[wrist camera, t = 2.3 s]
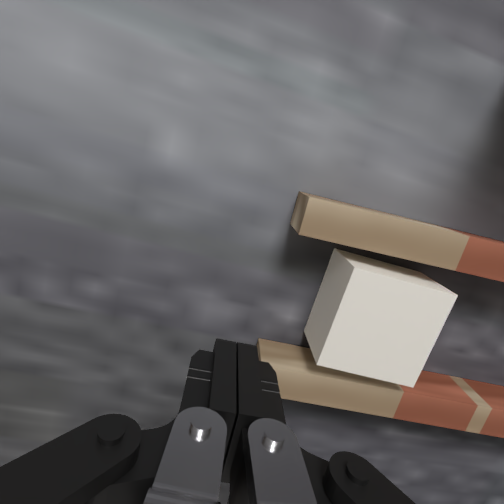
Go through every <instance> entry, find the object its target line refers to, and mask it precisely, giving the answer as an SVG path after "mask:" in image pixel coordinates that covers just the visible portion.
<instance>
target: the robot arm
mask: <svg viewBox="0 0 504 504" xmlns="http://www.w3.org/2000/svg"><path fill="white" fill-rule="evenodd" d="M221 482H225V483H230V495H229V498H228V502H227V504H415V503H414V502H413V501H412V500H411V499H410V498H409V497H407V496H406V495H405V494H404V493H403V492H402V491H401V490H400V489H398V488H397V487H396V486H395V485H394V484H393V483H392V482H391V481H389V480H388V479H387V478H386V477H385V476H384V475H383V474H382V473H380V472H379V471H378V470H377V469H376V468H375V467H374V466H373V465H371V464H370V463H369V462H368V461H367V460H365V459H364V458H362V457H360V456H358V455H356V454H354V453H351V452H345V451H343V452H337V453H335V454H334V455H333V456H332V457H331V458H330V461H329V462H328V461H326V460H324V459H322V458H319V457H317V456H315V455H313V454H311V453H309V452H307V451H305V450H304V449H302V448H301V447H300V446H299V442H298V439H297V437H296V435H295V434H294V432H293V431H292V430H291V429H290V428H289V427H288V426H287V425H286V422H285V416H284V411H283V406H282V401H281V395H280V390H279V385H278V380H277V374H276V372H275V370H274V369H273V367H272V366H271V365H270V363H269V362H263V361H259V358H258V349H257V346H254V345H249V344H244V343H238V342H237V344H236V342H233V341H228V340H222V339H216V341H215V345H214V349H213V352H209V351H204V350H198V351H197V352H196V353H195V354H194V355H193V356H192V357H191V362H190V366H189V371H188V375H187V380H186V384H185V389H184V393H183V398H182V402H181V406H180V410H179V413H178V415H177V416H176V418H175V419H174V420H173V421H171V422H170V423H169V424H167V425H165V426H163V427H159V428H155V429H148V430H141V429H140V427H139V425H138V423H137V422H136V421H135V420H133V419H132V418H130V417H128V416H125V415H121V414H107V415H103V416H99V417H97V418H95V419H92V420H91V421H89V422H87V423H85V424H83V425H81V426H79V427H77V428H75V429H73V430H71V431H69V432H67V433H65V434H63V435H61V436H59V437H58V438H56V439H54V440H52V441H50V442H48V443H46V444H44V445H42V446H40V447H38V448H36V449H34V450H32V451H30V452H28V453H27V454H25V455H23V456H21V457H19V458H17V459H15V460H13V461H11V462H9V463H7V464H5V465H3V466H1V467H0V504H221V503H220V502H218V500H219V491H220V483H221Z"/></svg>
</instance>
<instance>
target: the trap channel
mask: <svg viewBox="0 0 504 504" xmlns="http://www.w3.org/2000/svg"><path fill="white" fill-rule="evenodd" d="M290 224H291V225H292V227H293V228H294V229H295V230H296V232H297V233H298V234H299V235H303V236H307V237H311V238H316V239H320V240H324V241H329V242H333V243H337V244H342V245H346V246H350V247H355V248H359V249H363V250H368V251H372V252H376V253H380V254H385V255H389V256H393V257H398V258H402V259H406V260H411V261H415V262H419V263H424V264H428V265H432V266H437V267H441V268H445V269H449V270H454V271H458V272H462V273H467V274H471V275H475V276H480V277H484V278H488V279H493V280H497V281H501V282H504V242H503V241H499V240H495V239H491V238H487V237H483V236H479V235H474V234H470V233H466V232H462V231H458V230H454V229H450V228H446V227H442V226H438V225H434V224H430V223H426V222H421V221H417V220H413V219H409V218H405V217H401V216H397V215H393V214H389V213H385V212H381V211H377V210H373V209H369V208H364V207H360V206H356V205H352V204H348V203H344V202H340V201H336V200H332V199H328V198H324V197H320V196H316V195H312V194H307V193H303V192H299V193H298V197H297V201H296V204H295V208H294V212H293V215H292V219H291V222H290ZM257 349H258V358H259V361H263V362H269V363H270V365H271V366H272V367H273V369H274V370H275V372H276V374H277V380H278V385H279V390H280V395H281V398H283V399H288V400H294V401H299V402H305V403H311V404H316V405H322V406H327V407H333V408H339V409H344V410H350V411H355V412H361V413H366V414H372V415H378V416H383V417H389V418H394V419H400V420H406V421H411V422H417V423H422V424H428V425H434V426H439V427H445V428H450V429H456V430H461V431H467V432H473V433H478V434H484V435H489V436H495V437H501V438H504V386H499V385H494V384H489V383H484V382H479V381H474V380H469V379H464V378H459V377H454V376H449V375H444V374H438V373H433V372H428V371H423V370H422V371H421V373H420V375H419V377H418V379H417V381H416V383H415V385H414V387H408V386H404V385H400V384H396V383H391V382H387V381H383V380H379V379H374V378H370V377H366V376H362V375H357V374H353V373H349V372H345V371H340V370H336V369H332V368H328V367H323V366H319V365H316V362H315V359H314V357H313V354H312V351H311V349H310V348H306V347H301V346H296V345H291V344H286V343H281V342H276V341H270V340H265V339H260V338H258V342H257Z"/></svg>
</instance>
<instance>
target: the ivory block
mask: <svg viewBox="0 0 504 504" xmlns="http://www.w3.org/2000/svg"><path fill="white" fill-rule="evenodd" d="M457 297H458V295H456V294H455V293H453V292H452V291H450V290H448V289H447V288H445V287H444V286H442V285H440V284H439V283H437V282H436V281H434V280H432V279H431V278H429V277H428V276H426V275H424V274H423V273H421V272H419V271H415V270H411V269H408V268H404V267H401V266H397V265H393V264H390V263H386V262H383V261H379V260H375V259H372V258H368V257H365V256H361V255H357V254H354V253H350V252H347V251H343V250H339V249H336V248H334V250H333V253H332V256H331V258H330V261H329V264H328V267H327V269H326V272H325V275H324V277H323V280H322V283H321V286H320V288H319V291H318V294H317V297H316V299H315V302H314V305H313V308H312V310H311V313H310V316H309V318H308V321H307V324H306V327H305V329H304V333H305V335H306V338H307V341H308V343H309V346H310V349H311V351H312V354H313V357H314V359H315V362H316V365H319V366H323V367H328V368H332V369H336V370H340V371H345V372H349V373H353V374H357V375H362V376H366V377H370V378H374V379H379V380H383V381H387V382H391V383H396V384H400V385H404V386H408V387H414V385H415V383H416V381H417V379H418V377H419V375H420V373H421V371H422V369H423V367H424V365H425V363H426V360H427V358H428V356H429V354H430V352H431V350H432V348H433V346H434V344H435V342H436V340H437V338H438V336H439V334H440V332H441V330H442V327H443V325H444V323H445V321H446V319H447V317H448V315H449V313H450V311H451V309H452V307H453V305H454V303H455V301H456V299H457Z"/></svg>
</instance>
